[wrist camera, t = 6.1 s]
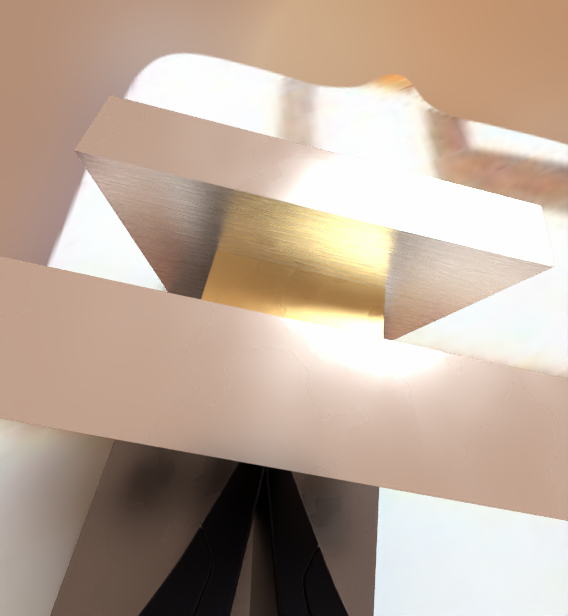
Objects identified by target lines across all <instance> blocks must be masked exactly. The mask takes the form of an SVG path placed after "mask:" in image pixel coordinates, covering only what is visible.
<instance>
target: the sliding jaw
mask: <svg viewBox="0 0 568 616" xmlns="http://www.w3.org/2000/svg"><path fill="white" fill-rule="evenodd" d="M0 418H1V419H6V420H12V421H17V422H23V423H28V424H34V425H39V426H45V427H50V428H56V429H62V430H67V431H73V432H78V433H84V434H89V435H95V436H100V437H106V438H112V439H117V440H123V441H128V442H134V443H139V444H145V445H150V446H156V447H161V448H167V449H173V450H178V451H184V452H189V453H195V454H200V455H206V456H211V457H217V458H222V459H228V460H234V461H239V462H245V463H250V464H256V465H261V466H267V467H272V468H278V469H284V470H289V471H295V472H300V473H306V474H311V475H317V476H322V477H328V478H333V479H339V480H345V481H350V482H356V483H361V484H367V485H372V486H378V487H383V488H389V489H394V490H400V491H406V492H411V493H417V494H422V495H428V496H433V497H439V498H444V499H450V500H456V501H461V502H467V503H472V504H478V505H483V506H489V507H494V508H500V509H505V510H511V511H517V512H522V513H528V514H533V515H539V516H544V517H550V518H555V519H561V520H566V521H568V379H566V378H562V377H557V376H553V375H548V374H543V373H539V372H534V371H529V370H525V369H520V368H515V367H511V366H506V365H502V364H497V363H492V362H488V361H483V360H478V359H474V358H469V357H465V356H460V355H455V354H451V353H446V352H441V351H437V350H432V349H427V348H423V347H418V346H414V345H409V344H404V343H400V342H395V341H390V340H386V339H381V338H376V337H372V336H367V335H363V334H358V333H353V332H349V331H344V330H339V329H335V328H330V327H325V326H321V325H316V324H312V323H307V322H302V321H298V320H293V319H288V318H284V317H279V316H274V315H270V314H265V313H261V312H256V311H251V310H247V309H242V308H237V307H233V306H228V305H224V304H219V303H214V302H210V301H205V300H200V299H196V298H191V297H186V296H182V295H177V294H173V293H168V292H163V291H159V290H154V289H149V288H145V287H140V286H135V285H131V284H126V283H122V282H117V281H112V280H108V279H103V278H98V277H94V276H89V275H84V274H80V273H75V272H71V271H66V270H61V269H57V268H52V267H47V266H42V265H38V264H33V263H28V262H24V261H20V260H14V259H10V258H5V257H1V256H0Z"/></svg>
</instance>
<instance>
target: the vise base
mask: <svg viewBox="0 0 568 616" xmlns="http://www.w3.org/2000/svg"><path fill="white" fill-rule="evenodd" d="M75 152H76V154H77V155H78V157H79V158H80V160H81V161H82V163H83V164H84V166H85V167H86V169H87V170H88V172H89V173H90V175H91V176H92V178H93V179H94V181H95V182H96V184H97V185H98V187H99V188H100V190H101V191H102V193H103V194H104V196H105V197H106V199H107V201H108V202H109V204H110V205H111V207H112V208H113V210H114V211H115V213H116V214H117V216H118V217H119V219H120V220H121V222H122V223H123V225H124V226H125V228H126V229H127V231H128V232H129V234H130V235H131V237H132V238H133V240H134V241H135V243H136V244H137V246H138V247H139V249H140V250H141V252H142V253H143V255H144V256H145V258H146V259H147V261H148V262H149V264H150V265H151V267H152V268H153V270H154V271H155V273H156V274H157V276H158V277H159V279H160V280H161V282H162V283H163V285H164V286H165V288H166V289H167V291H168V292H169V293H173V294H177V295H182V296H186V297H191V298H196V299H200V300H201V298H202V295H203V292H204V289H205V285H206V282H207V279H208V276H209V273H210V270H211V266H212V263H213V260H214V257H215V254H216V251H221V252H226V253H230V254H234V255H239V256H243V257H247V258H252V259H256V260H261V261H265V262H269V263H274V264H278V265H283V266H287V267H291V268H296V269H300V270H305V271H309V272H313V273H318V274H322V275H326V276H331V277H335V278H340V279H344V280H348V281H353V282H357V283H362V284H366V285H370V286H375V287H379V288H384V289H385V309H384V330H383V339H386V340H390V341H392V340H394V339H396V338H399V337H401V336H403V335H405V334H407V333H410V332H412V331H414V330H416V329H418V328H420V327H423V326H425V325H427V324H429V323H431V322H434V321H436V320H438V319H440V318H442V317H445V316H447V315H449V314H451V313H453V312H456V311H458V310H460V309H462V308H464V307H467V306H469V305H471V304H473V303H475V302H478V301H480V300H482V299H484V298H486V297H489V296H491V295H493V294H495V293H497V292H500V291H502V290H504V289H506V288H508V287H510V286H513V285H515V284H517V283H519V282H521V281H524V280H526V279H528V278H530V277H532V276H535V275H537V274H539V273H541V272H543V271H546V270H548V269H550V268H552V267H553V262H552V257H551V252H550V248H549V243H548V238H547V233H546V229H545V224H544V219H543V214H542V210H541V206H539V205H535V204H531V203H527V202H523V201H520V200H516V199H512V198H508V197H504V196H500V195H496V194H492V193H488V192H485V191H481V190H477V189H473V188H469V187H465V186H461V185H457V184H453V183H450V182H446V181H442V180H438V179H434V178H430V177H426V176H422V175H418V174H415V173H411V172H407V171H403V170H399V169H395V168H391V167H387V166H384V165H380V164H376V163H372V162H368V161H364V160H360V159H356V158H352V157H349V156H345V155H341V154H337V153H333V152H329V151H325V150H321V149H317V148H314V147H310V146H306V145H302V144H298V143H294V142H290V141H286V140H282V139H279V138H275V137H271V136H267V135H263V134H259V133H255V132H251V131H247V130H244V129H240V128H236V127H232V126H228V125H224V124H220V123H216V122H213V121H209V120H205V119H201V118H197V117H193V116H189V115H185V114H181V113H178V112H174V111H170V110H166V109H162V108H158V107H154V106H150V105H146V104H143V103H139V102H135V101H131V100H127V99H123V98H119V97H115V96H111V95H110V96H109V97H108V99H107V100H106V102H105V103H104V105H103V107H102V108H101V110H100V111H99V113H98V114H97V116H96V117H95V119H94V120H93V122H92V124H91V125H90V127H89V128H88V130H87V131H86V133H85V134H84V136H83V138H82V139H81V141H80V142H79V144H78V145H77V147H76V148H75ZM238 462H239V461H234V460H228V459H222V458H217V457H211V456H206V455H200V454H195V453H189V452H184V451H178V450H173V449H167V448H161V447H156V446H150V445H145V444H139V443H134V442H128V441H123V440H117V439H115V442H114V444H113V447H112V450H111V452H110V455H109V458H108V461H107V463H106V466H105V469H104V471H103V474H102V477H101V480H100V482H99V485H98V488H97V491H96V493H95V496H94V499H93V501H92V504H91V507H90V510H89V512H88V515H87V518H86V520H85V523H84V526H83V529H82V531H81V534H80V537H79V539H78V542H77V545H76V548H75V550H74V553H73V556H72V559H71V561H70V564H69V567H68V569H67V572H66V575H65V578H64V580H63V583H62V586H61V588H60V591H59V594H58V597H57V599H56V602H55V605H54V607H53V610H52V613H51V616H138V615H139V613H140V612H141V611H142V609H143V608H144V607H145V605H146V604H147V603H148V601H149V600H150V599H151V597H152V596H153V595H154V593H155V592H156V591H157V589H158V588H159V587H160V585H161V584H162V583H163V581H164V580H165V578H166V577H167V576H168V574H169V573H170V571H171V570H172V568H173V567H174V566H175V564H176V563H177V561H178V560H179V558H180V557H181V555H182V554H183V552H184V551H185V549H186V547H187V546H188V544H189V543H190V541H191V539H192V538H193V536H194V535H195V533H196V531H197V530H198V528H199V527H200V525H201V523H202V522H203V520H204V518H205V517H206V515H207V513H208V512H209V510H210V508H211V507H212V505H213V503H214V502H215V500H216V498H217V497H218V495H219V493H220V492H221V490H222V488H223V487H224V485H225V483H226V482H227V480H228V478H229V477H230V475H231V473H232V472H233V470H234V468H235V467H236V465H237V463H238ZM292 473H293V475H294V478H295V481H296V483H297V486H298V489H299V491H300V494H301V497H302V500H303V502H304V505H305V508H306V510H307V513H308V516H309V518H310V521H311V524H312V526H313V529H314V532H315V534H316V537H317V540H318V542H319V546H318V547H321V550H322V553H323V555H324V558H325V561H326V563H327V566H328V568H329V571H330V573H331V576H332V578H333V581H334V583H335V586H336V588H337V590H338V592H339V594H340V597H341V599H342V601H343V603H344V605H345V608H346V610H347V612H348V614H349V616H373V614H374V591H375V568H376V546H377V523H378V500H379V487H378V486H372V485H367V484H361V483H356V482H350V481H345V480H339V479H333V478H328V477H322V476H317V475H311V474H306V473H300V472H295V471H292ZM253 526H254V518H253V522H252V526H251V530H250V535H249V539H248V543H247V547H246V551H245V556H244V560H243V564H242V568H241V572H240V576H239V581H238V585H237V589H236V593H235V597H234V602H233V606H232V610H231V614H230V616H250V594H251V571H252V549H253Z"/></svg>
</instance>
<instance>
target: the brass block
mask: <svg viewBox="0 0 568 616" xmlns="http://www.w3.org/2000/svg"><path fill="white" fill-rule="evenodd" d="M201 300H205V301H210V302H214V303H219V304H224V305H228V306H233V307H237V308H242V309H247V310H251V311H256V312H261V313H265V314H270V315H274V316H279V317H284V318H288V319H293V320H298V321H302V322H307V323H312V324H316V325H321V326H325V327H330V328H335V329H339V330H344V331H349V332H353V333H358V334H363V335H367V336H372V337H376V338H381V339H383V330H384V309H385V289H384V288H379V287H375V286H370V285H366V284H362V283H357V282H353V281H348V280H344V279H340V278H335V277H331V276H326V275H322V274H318V273H313V272H309V271H305V270H300V269H296V268H291V267H287V266H283V265H278V264H274V263H269V262H265V261H261V260H256V259H252V258H247V257H243V256H239V255H234V254H230V253H226V252H221V251H216V254H215V257H214V260H213V263H212V266H211V270H210V273H209V276H208V279H207V282H206V285H205V289H204V292H203V295H202V298H201Z"/></svg>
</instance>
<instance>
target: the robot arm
mask: <svg viewBox="0 0 568 616" xmlns="http://www.w3.org/2000/svg"><path fill="white" fill-rule="evenodd" d="M253 518H254V526H253V549H252V571H251V594H250V616H349V614H348V612H347V610H346V608H345V605H344V603H343V601H342V599H341V597H340V594H339V592H338V590H337V588H336V586H335V583H334V581H333V578H332V576H331V573H330V571H329V568H328V566H327V563H326V561H325V558H324V555H323V553H322V550H321V547H318V546H319V542H318V540H317V537H316V534H315V532H314V529H313V526H312V524H311V521H310V518H309V516H308V513H307V510H306V508H305V505H304V502H303V500H302V497H301V494H300V491H299V489H298V486H297V483H296V481H295V478H294V475H293V473H292V471H289V470H284V469H278V468H272V467H267V466H261V465H256V464H250V463H245V462H238V463H237V465H236V467H235V468H234V470H233V472H232V473H231V475H230V477H229V478H228V480H227V482H226V483H225V485H224V487H223V488H222V490H221V492H220V493H219V495H218V497H217V498H216V500H215V502H214V503H213V505H212V507H211V508H210V510H209V512H208V513H207V515H206V517H205V518H204V520H203V522H202V523H201V525H200V527H199V528H198V530H197V531H196V533H195V535H194V536H193V538H192V539H191V541H190V543H189V544H188V546H187V547H186V549H185V551H184V552H183V554H182V555H181V557H180V558H179V560H178V561H177V563H176V564H175V566H174V567H173V568H172V570H171V571H170V573H169V574H168V576H167V577H166V578H165V580H164V581H163V583H162V584H161V585H160V587H159V588H158V589H157V591H156V592H155V593H154V595H153V596H152V597H151V599H150V600H149V601H148V603H147V604H146V605H145V607H144V608H143V609H142V611H141V612H140V613H139V615H138V616H230V614H231V610H232V606H233V602H234V597H235V593H236V589H237V585H238V581H239V576H240V572H241V568H242V564H243V560H244V556H245V551H246V547H247V543H248V539H249V535H250V530H251V526H252V522H253Z"/></svg>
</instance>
